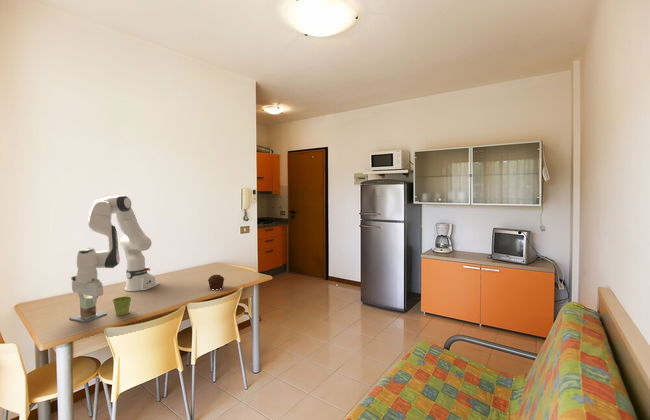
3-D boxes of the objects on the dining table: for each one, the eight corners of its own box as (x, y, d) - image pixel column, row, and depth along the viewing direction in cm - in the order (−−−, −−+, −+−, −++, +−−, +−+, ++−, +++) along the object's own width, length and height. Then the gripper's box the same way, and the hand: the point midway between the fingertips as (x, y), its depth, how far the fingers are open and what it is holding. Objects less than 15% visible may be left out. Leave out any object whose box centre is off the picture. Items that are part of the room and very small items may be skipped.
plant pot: (118, 310, 183) (118, 296, 182) (135, 310, 183) (135, 296, 183) (108, 317, 173) (108, 301, 173) (126, 316, 174) (126, 301, 174)
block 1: (89, 304, 175) (89, 295, 175) (95, 305, 174) (95, 297, 173) (80, 307, 171) (79, 298, 170) (86, 308, 169) (86, 299, 169)
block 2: (89, 312, 176) (89, 304, 175) (96, 314, 174) (95, 305, 174) (80, 316, 171) (80, 307, 171) (86, 317, 169) (86, 308, 169)
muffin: (227, 287, 229) (227, 274, 228) (216, 292, 219) (216, 278, 218) (215, 285, 234) (215, 272, 233) (204, 289, 224) (204, 275, 223)
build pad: (92, 311, 180) (92, 309, 180) (106, 314, 176) (106, 312, 176) (69, 319, 169) (69, 317, 169) (84, 323, 165) (84, 321, 165)
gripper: (106, 278, 171) (107, 302, 172) (81, 274, 178) (81, 297, 178) (94, 281, 165) (95, 306, 166) (68, 277, 172) (69, 301, 173)
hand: (88, 302), depth 172 cm, fingers open, 8 cm apart
